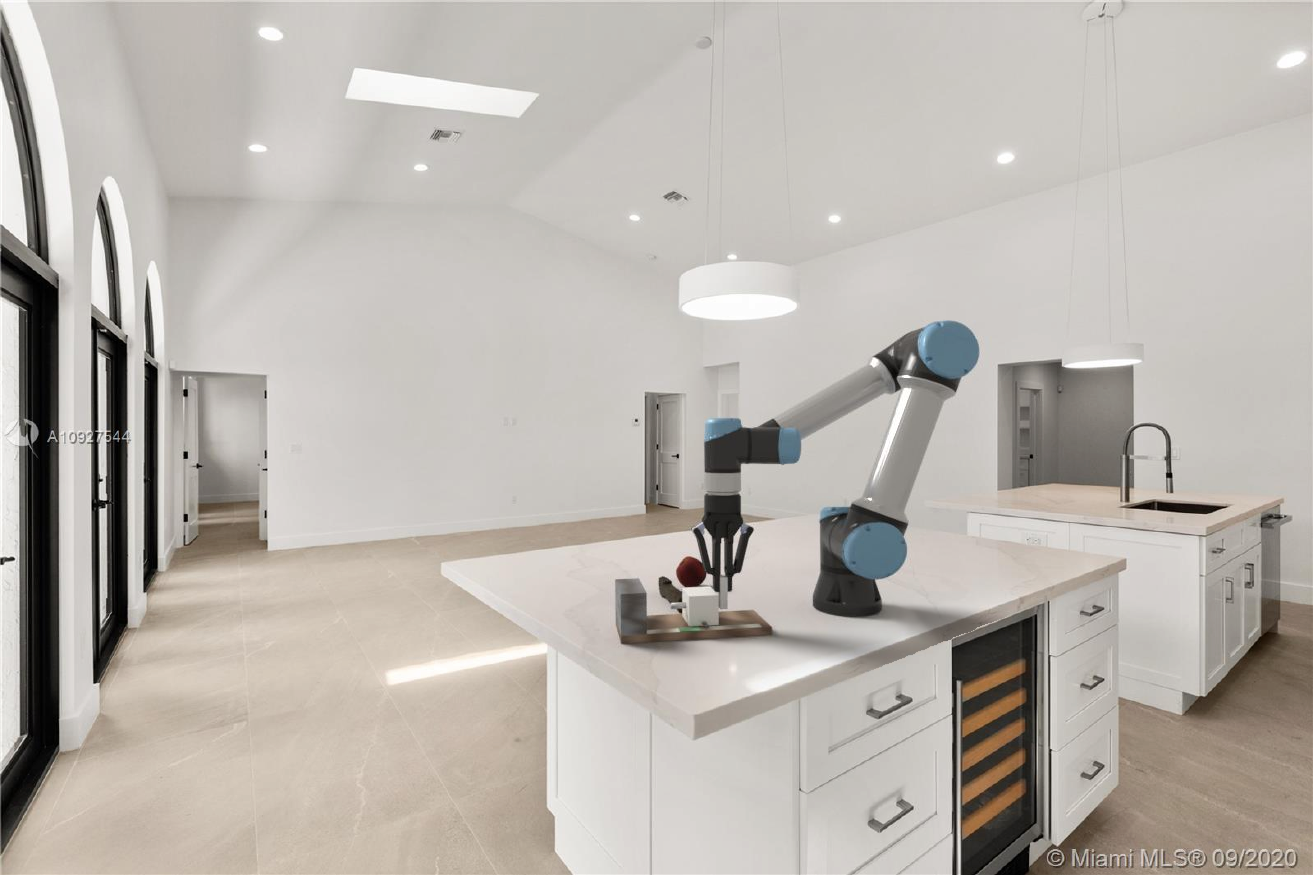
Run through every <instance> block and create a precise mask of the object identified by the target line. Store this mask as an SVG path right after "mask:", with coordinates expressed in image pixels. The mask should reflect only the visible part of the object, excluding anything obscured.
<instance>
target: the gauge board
mask: <svg viewBox="0 0 1313 875" xmlns="http://www.w3.org/2000/svg"><path fill="white" fill-rule="evenodd" d="M614 583H615V585H614V593H615V595H614V597H615V600H614V601H615V604H614V605H615V607H614V608H615V628H616V632H617V634H618V637H619V641H620V644H621V645H622V644H637V643H639V644H640V643H652V642H656V643H657V642H670V641H686V640H689V641H690V640H704V639H717V638H720V639H723V638H734V637H735V638H737V637H750V636H753V637H754V636H755V637H756V636H767V635H769V636H770V635H772V633H773V626H771V625H770V624H769V623H768V622H767V621H766V620H765V619H764V618H763V617H762V616H760V615H759V614H758V613H757V611H755V610H754V609H746V610H745V609H743V610H724V611H723V610H722V611H719V625H709V628H705V627H704V626H692V627H689V625H688V624H687V622H686V621H685V619H684V618H683V616H682V613H672V614H671V613H670V614H669V613H668V614H667V613H665V614H651V615H648V612H647V611H648V608H647V607H648V605H647V604H648V603H647V602H648V601H647V600H648V599H647V596H648V594H647V590H646V589H645V587H644V585H643V584H642V581H641V580H640V578H637V577H636V578H635V577H633V578H617V579H615V580H614Z"/></svg>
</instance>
